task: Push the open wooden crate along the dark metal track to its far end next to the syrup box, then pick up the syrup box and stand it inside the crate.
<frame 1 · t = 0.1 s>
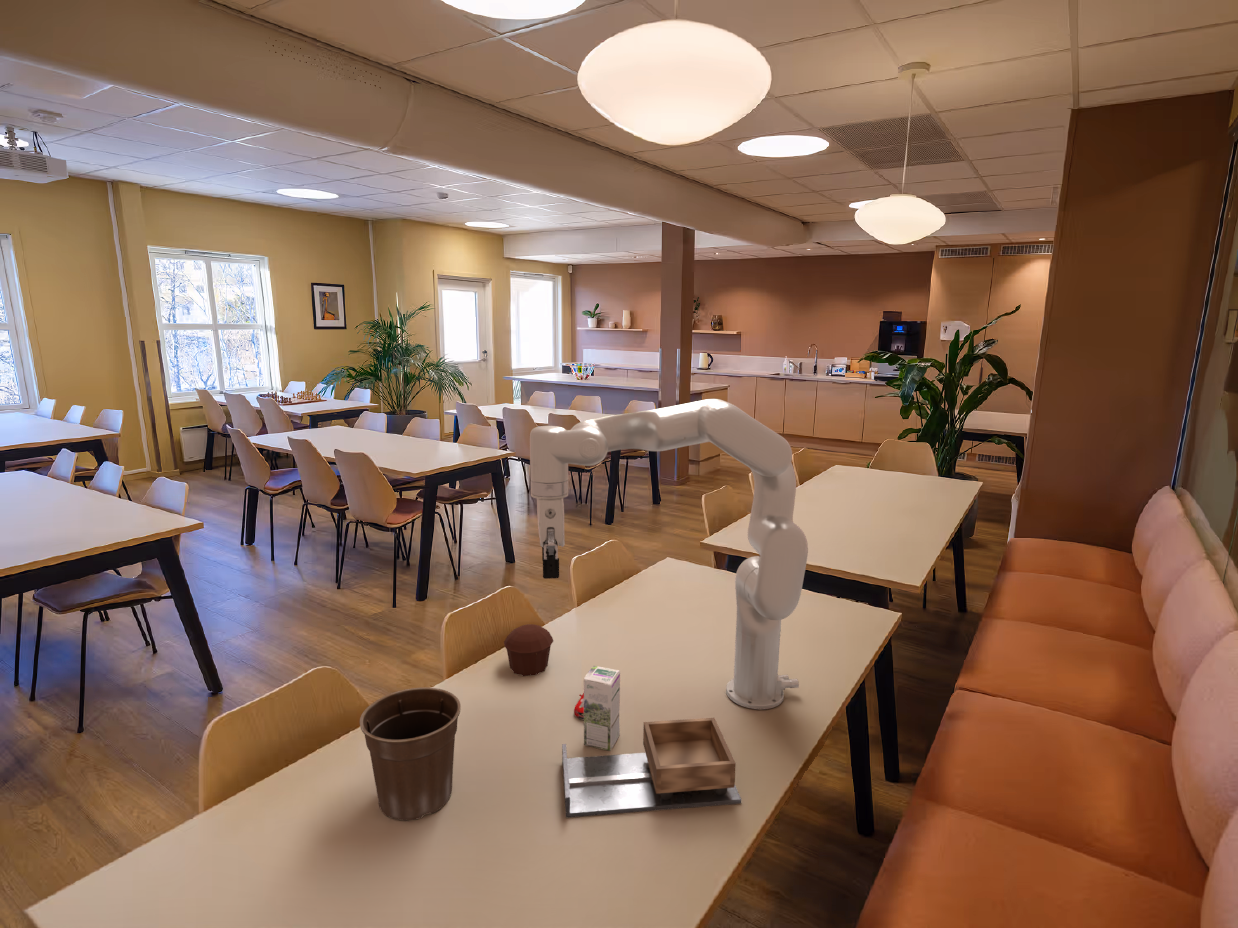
hand: (550, 569, 135), 31 cm above the table, tool pointing down, fingers open, 9 cm apart
race car: (593, 706, 142), on the table
open wooden crate: (686, 758, 118), point 4 cm above the table, slide at 0.0 cm
track: (647, 781, 118), on the table
plant pot: (416, 796, 114), on the table
muffin: (529, 667, 158), on the table
syrup box: (601, 741, 130), on the table
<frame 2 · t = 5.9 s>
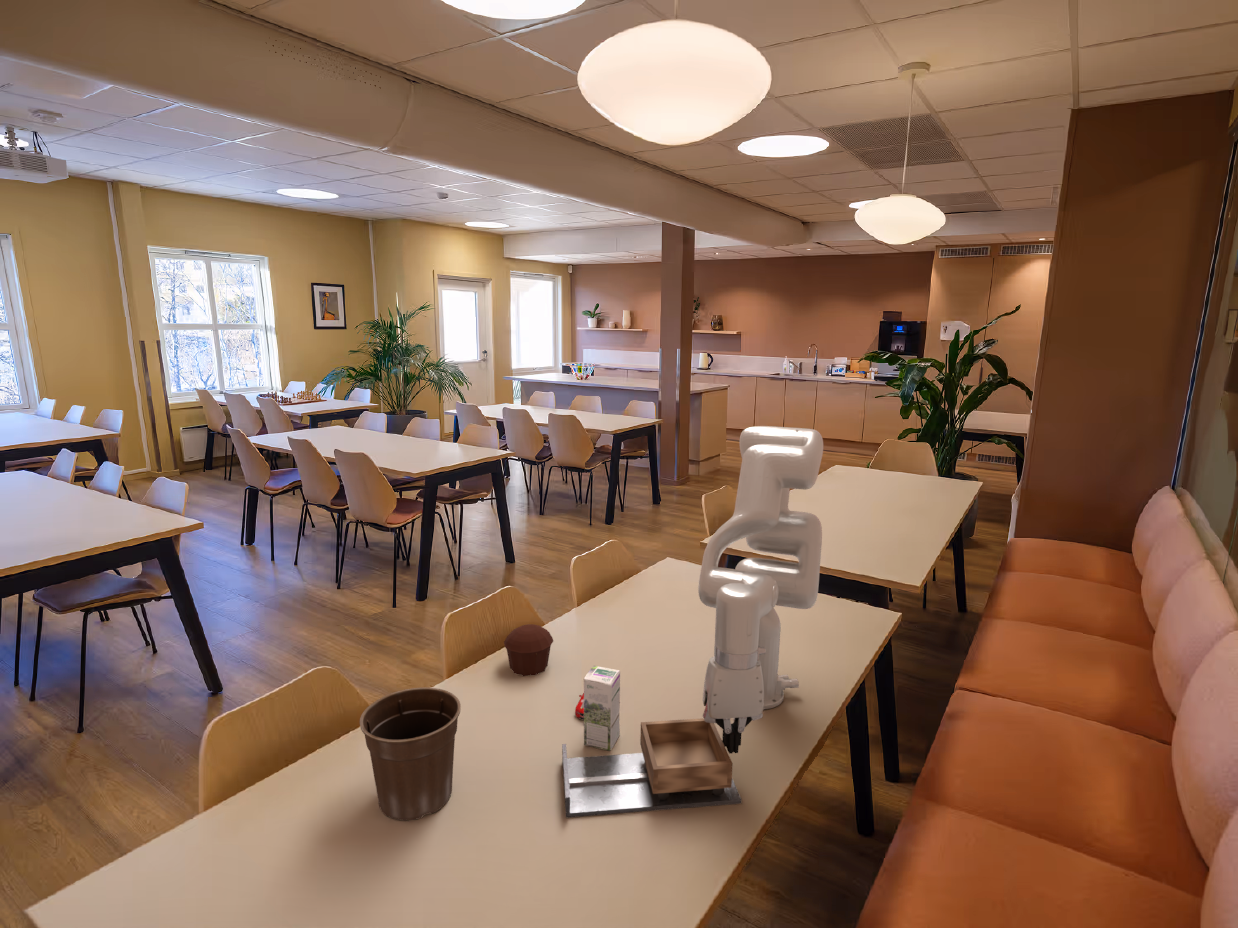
hand: (731, 748, 118), 6 cm above the table, tool pointing down, fingers closed
open wooden crate: (683, 758, 118), point 4 cm above the table, slide at 0.6 cm, touching gripper
everything else where it was.
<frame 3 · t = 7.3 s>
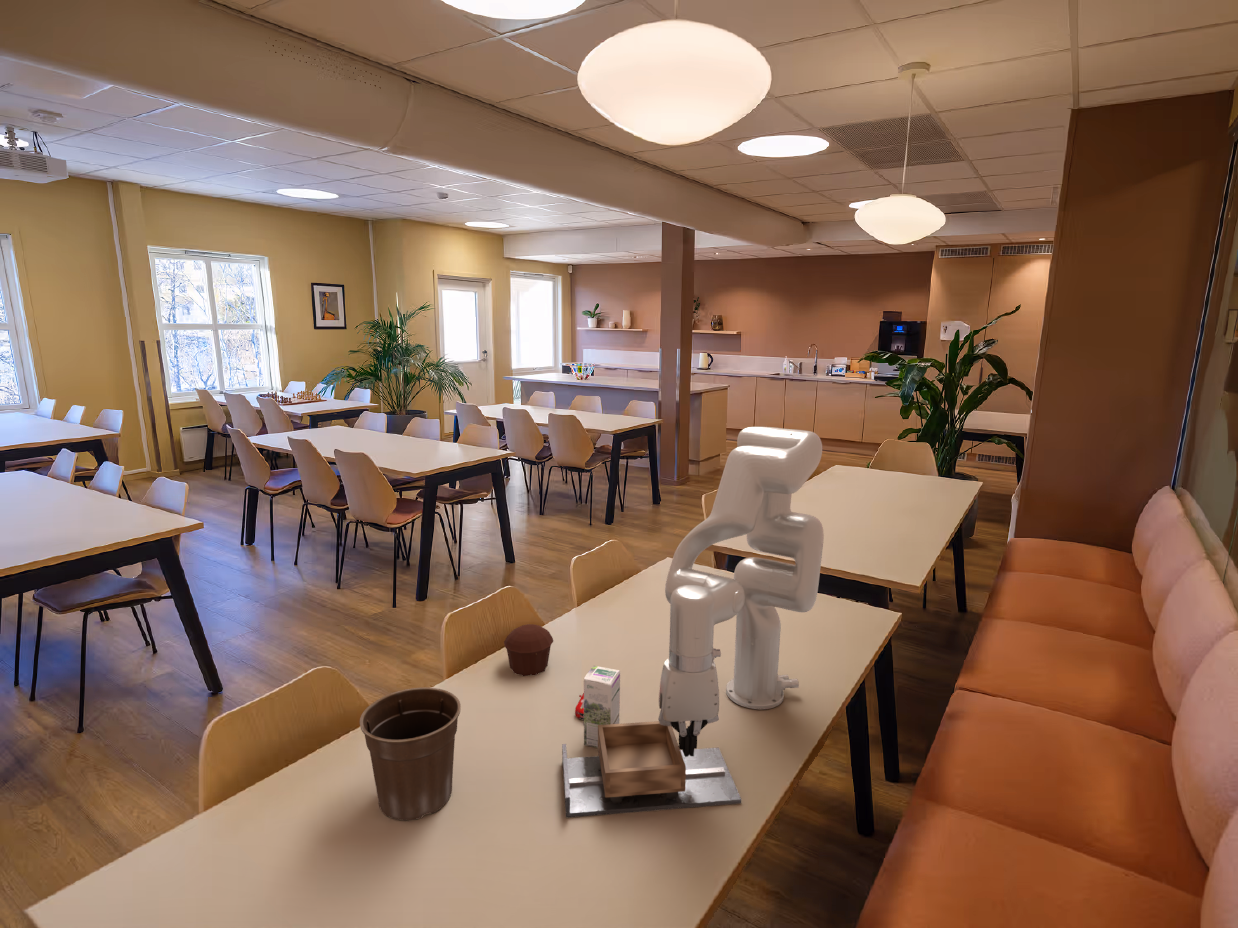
hand: (687, 751, 117), 6 cm above the table, tool pointing down, fingers closed
open wooden crate: (639, 761, 117), point 4 cm above the table, slide at 8.6 cm, touching gripper
everything else where it was.
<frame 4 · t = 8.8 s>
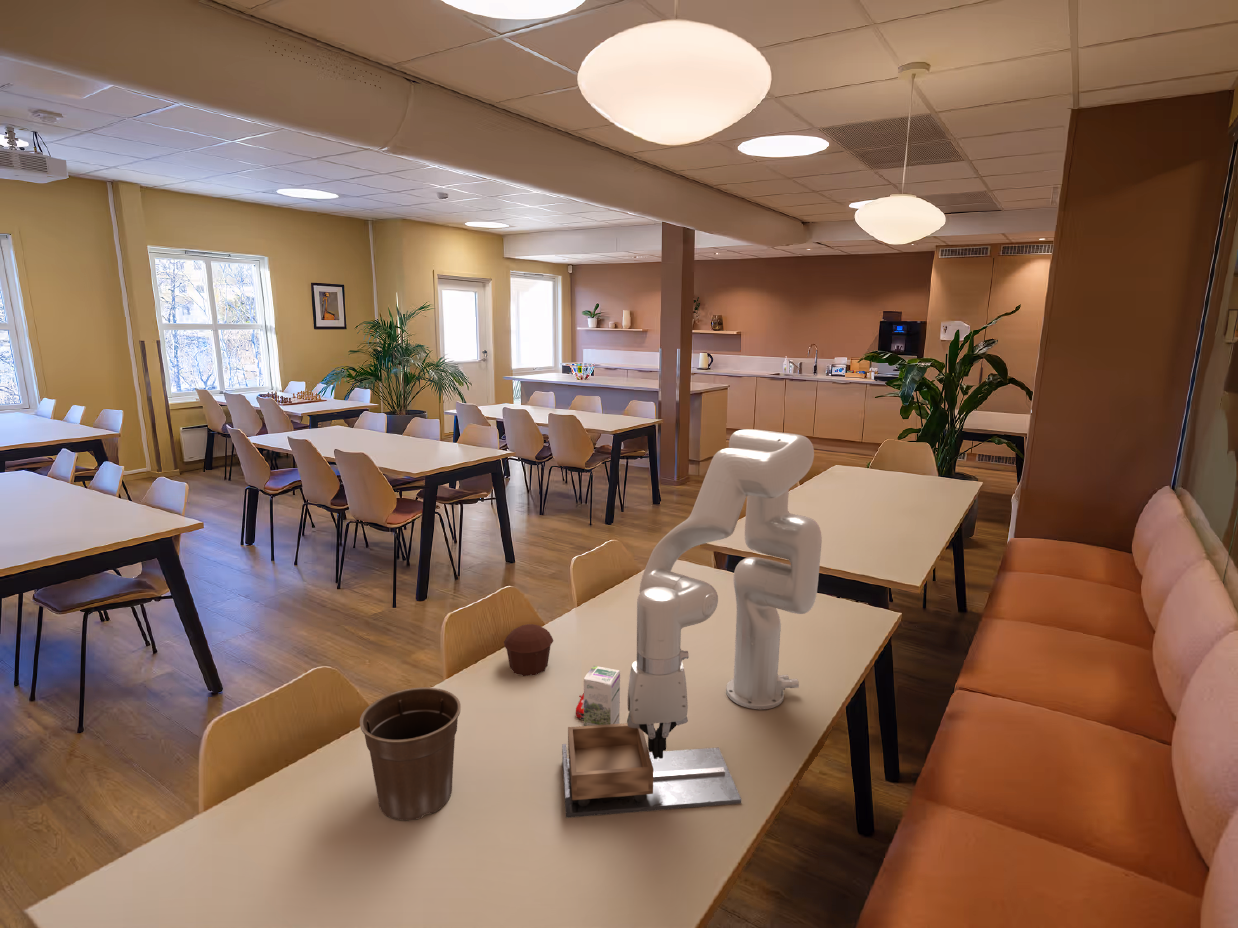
hand: (656, 753, 117), 6 cm above the table, tool pointing down, fingers closed
open wooden crate: (608, 763, 116), point 4 cm above the table, slide at 14.1 cm, touching gripper
everything else where it was.
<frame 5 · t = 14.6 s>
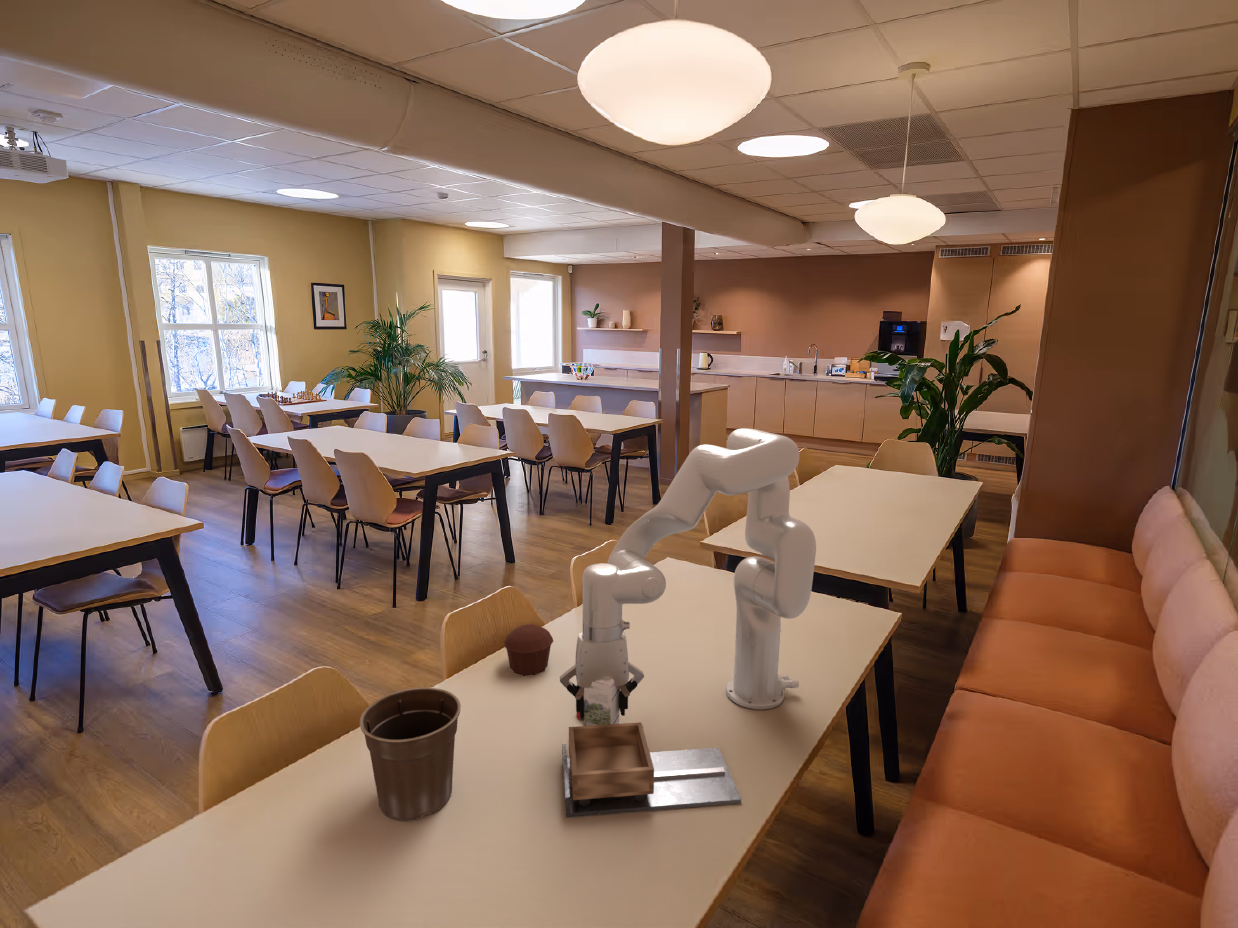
hand: (601, 712, 128), 6 cm above the table, tool pointing down, fingers closed on syrup box, 7 cm apart
open wooden crate: (609, 763, 116), point 4 cm above the table, slide at 14.0 cm
syrup box: (601, 741, 130), on the table, touching gripper
everything else where it was.
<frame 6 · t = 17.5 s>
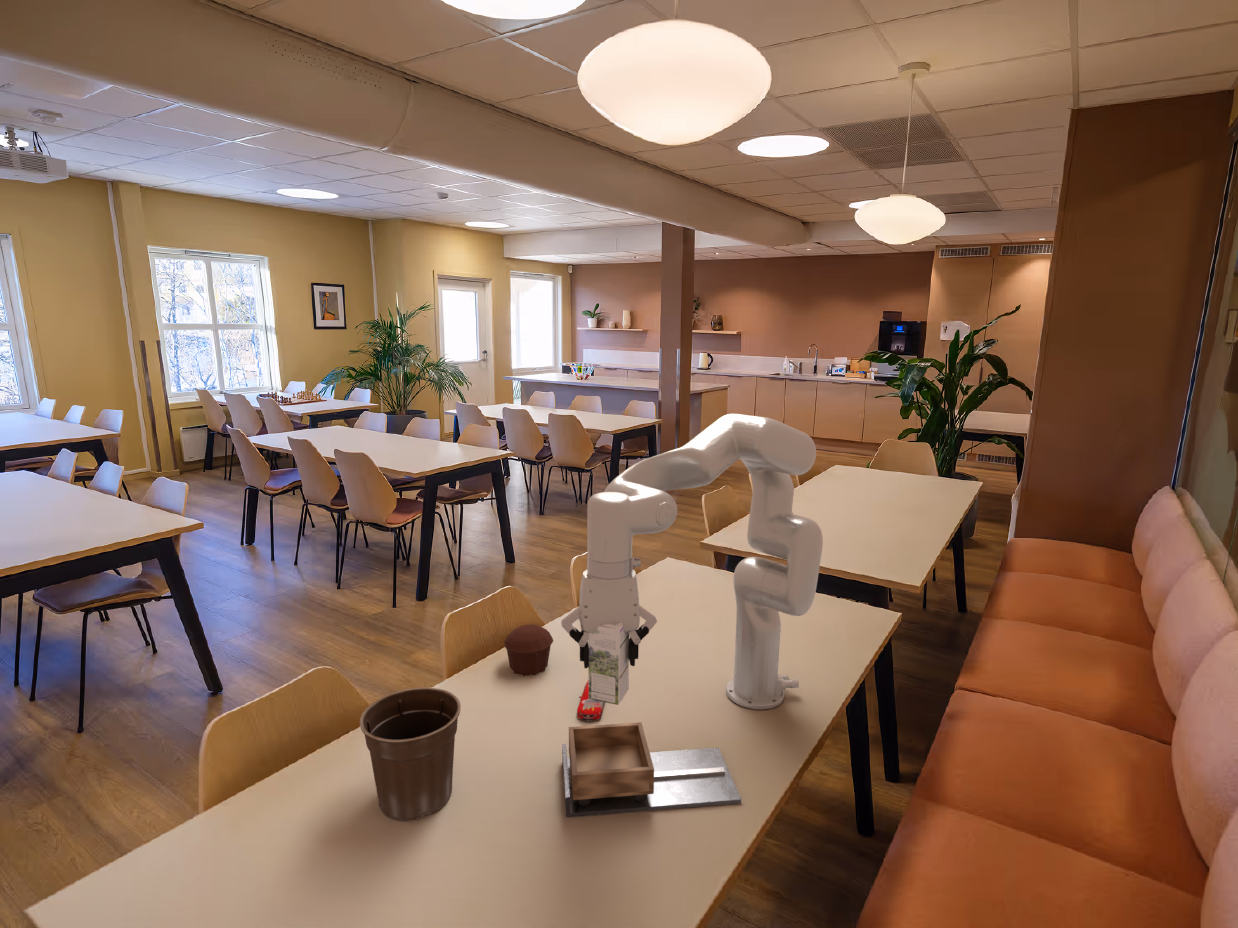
hand: (608, 662, 114), 23 cm above the table, tool pointing down, fingers closed on syrup box, 7 cm apart
syrup box: (608, 695, 115), point 17 cm above the table, touching gripper
everything else where it was.
when the fingers open (11 cm above the table, at t = 20.3 s): syrup box drops 2 cm, resting on open wooden crate.
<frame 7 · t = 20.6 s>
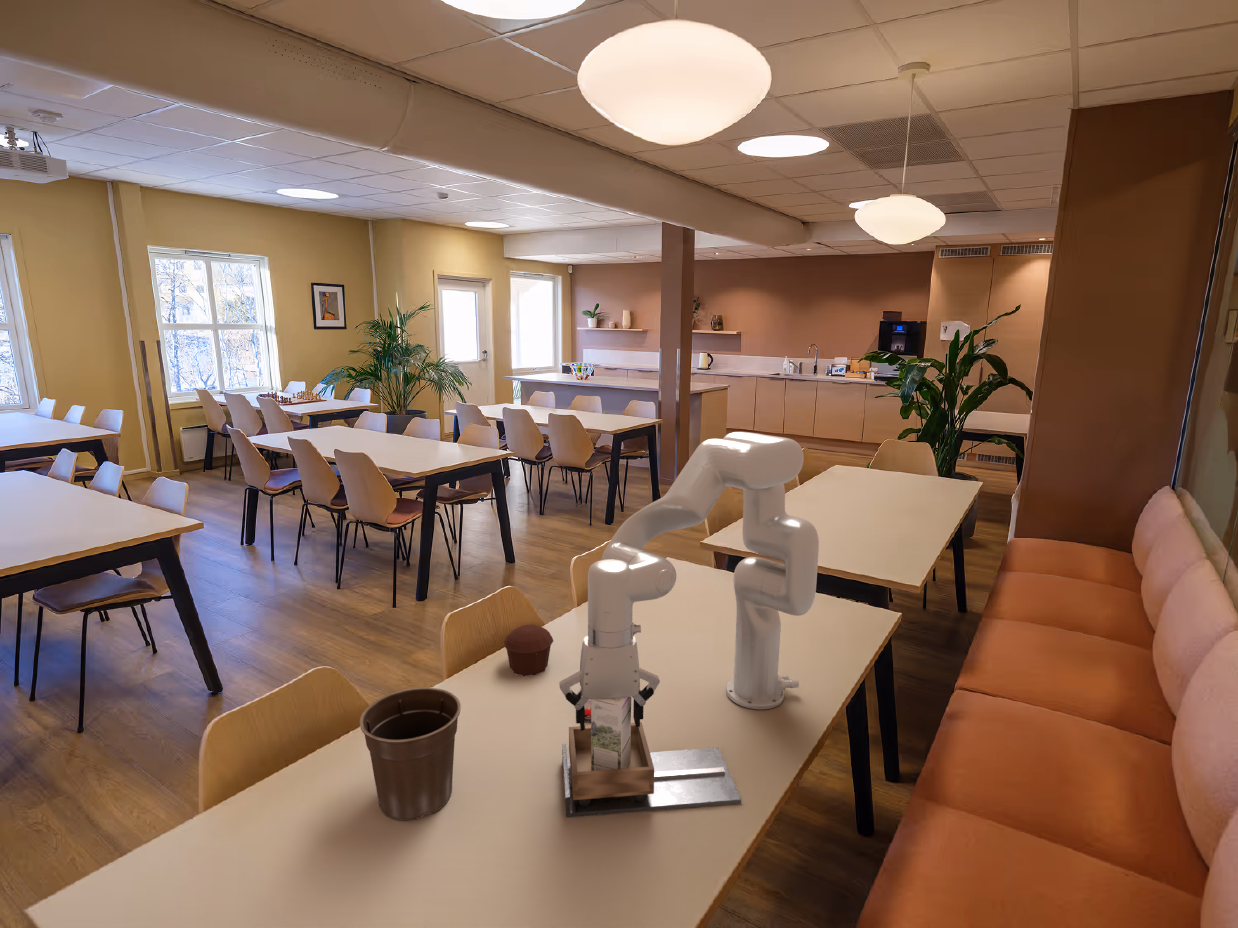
hand: (609, 724, 114), 12 cm above the table, tool pointing down, fingers open, 9 cm apart
open wooden crate: (609, 763, 116), point 4 cm above the table, slide at 14.0 cm, touching syrup box
syrup box: (611, 767, 116), point 3 cm above the table, touching open wooden crate
everything else where it was.
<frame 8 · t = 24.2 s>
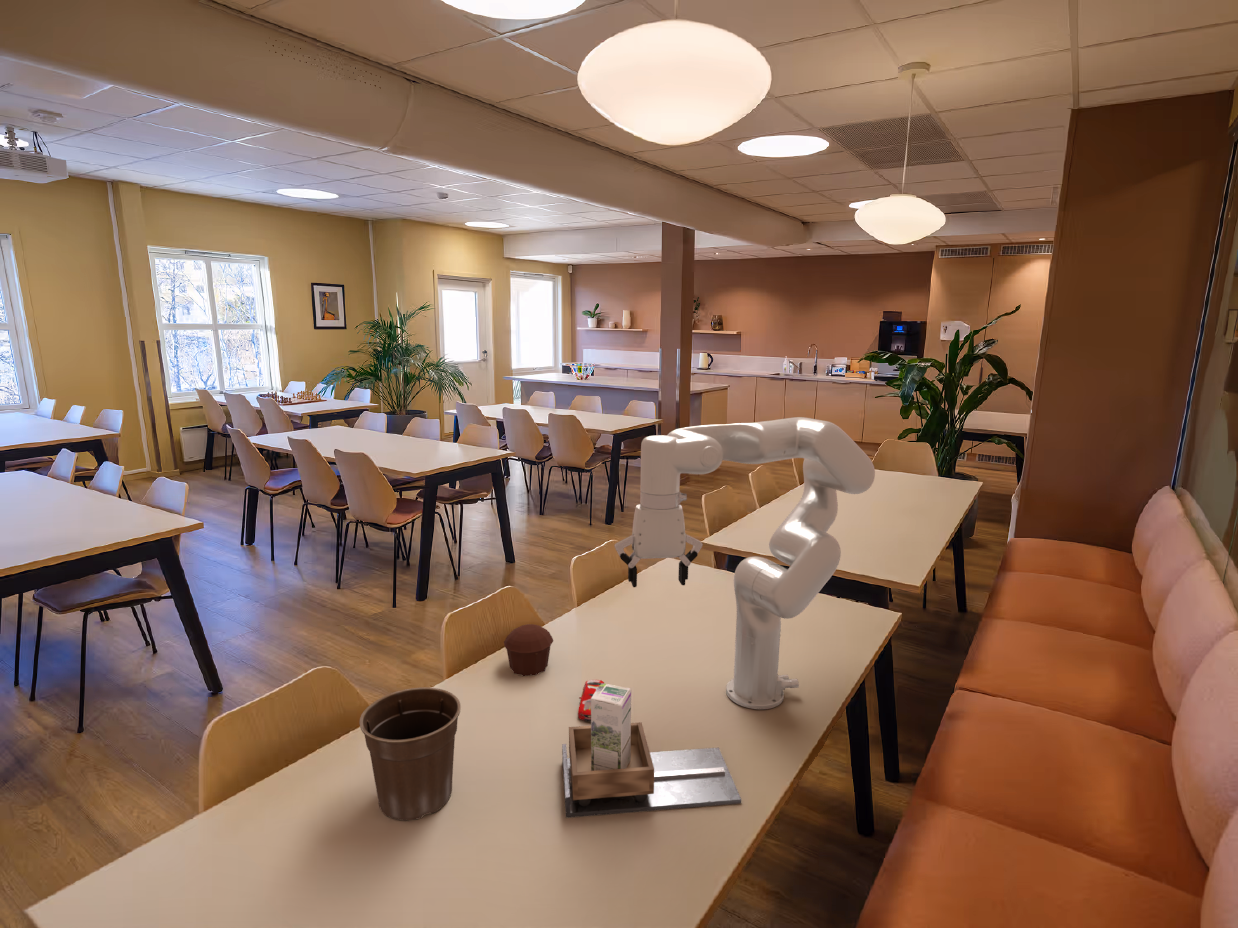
hand: (657, 583, 130), 30 cm above the table, tool pointing down, fingers open, 9 cm apart
nothing on the table moved.
at the end: open wooden crate slide at 14.0 cm; syrup box inside the target area (0.4 cm from its centre), point 3.3 cm above the table; syrup box tilted 0° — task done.
